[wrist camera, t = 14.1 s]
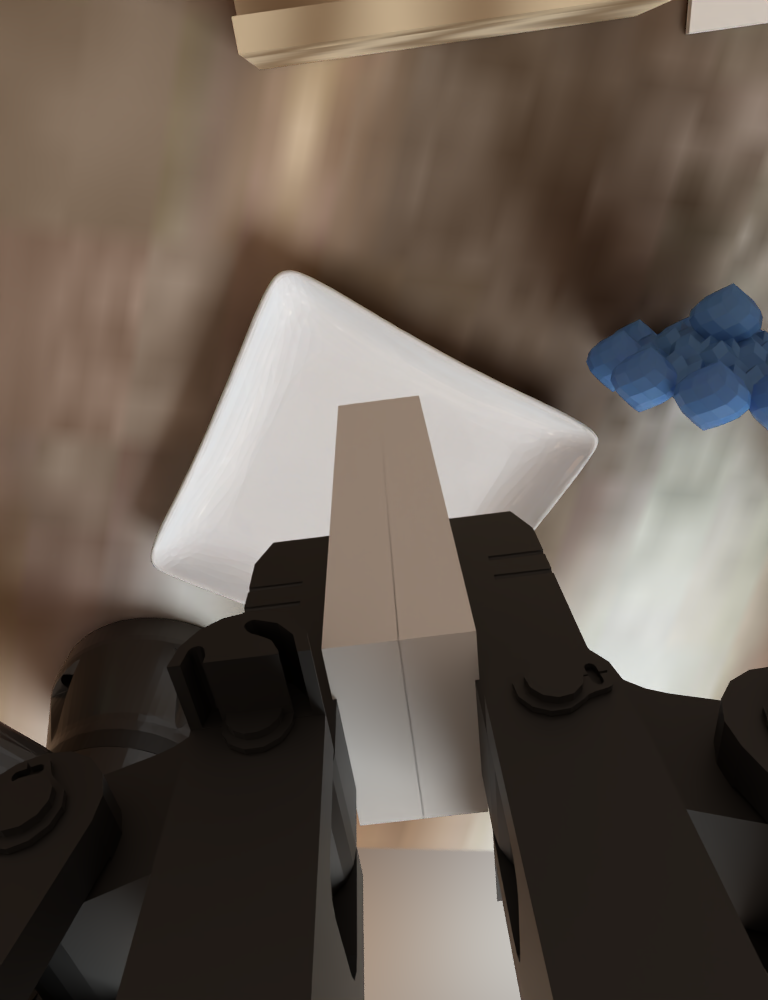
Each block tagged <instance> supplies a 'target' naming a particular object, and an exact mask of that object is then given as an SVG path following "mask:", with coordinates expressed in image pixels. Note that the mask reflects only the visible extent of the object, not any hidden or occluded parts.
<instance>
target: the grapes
mask: <svg viewBox="0 0 768 1000" xmlns="http://www.w3.org/2000/svg"><path fill="white" fill-rule="evenodd" d="M762 319H763V317H762V314H761V311H760V309H759V308H758V306H757V305H756V303H755V302H754V301H753V300H752V299H751V298H750V297H749V296H748V295H746V294H745V293H744V292H743V291H742V290H741V289H739V288H738V287H737V286H736V285H735V284H734V283H733V284H731V285H729V286H727V287H725V288H722V289H720V290H718V291H716V292H714V293H712V294H710V295H708V296H706V297H705V298H704V299H703V300H702V301H700V302H699V303H698V304H697V305H696V306H695V307H694V308H693V309H692V310H691V312H690V316H689V317H688V318H685V319H683V320H681V321H679V322H677V323H675V324H672V325H670V326H668V327H666V328H665V329H664V330H663V331H662V332H661V333H659V334H656V333H655V332H654V331H653V330H652V329H651V328H650V327H648V326H647V325H646V324H645V323H644V322H642V321H641V320H640V319H639V320H637V321H635V322H633V323H631V324H629V325H627V326H625V327H623V328H621V329H619V330H617V331H616V332H615V333H614V334H613V335H612V336H610V337H608V338H606V339H604V340H602V341H600V342H599V343H598V344H597V345H596V346H595V347H593V348H592V349H591V351H590V352H589V354H588V357H587V361H586V362H587V365H588V367H589V369H590V371H591V372H592V374H593V375H594V376H595V377H596V378H597V379H598V380H599V381H600V382H601V383H602V384H603V385H605V386H606V387H607V388H609V389H610V390H611V391H612V392H613V391H616V392H617V393H618V394H619V396H620V397H622V398H623V399H624V400H625V401H626V402H627V403H628V404H629V405H630V406H631V407H633V408H634V409H635V410H637V411H638V412H641V411H644V410H647V409H650V408H652V407H655V406H657V405H659V404H662V403H664V402H665V401H667V400H668V399H669V398H671V397H673V398H674V399H675V401H676V403H677V404H678V406H679V408H680V410H681V411H682V413H683V414H685V415H686V416H687V417H688V418H689V419H690V420H691V421H692V422H693V423H694V424H696V425H697V426H698V427H699V428H701V429H702V430H707V429H711V428H714V427H718V426H720V425H723V424H725V423H728V422H731V421H733V420H735V419H737V418H739V417H740V416H741V415H743V414H744V413H745V412H746V411H747V410H748V409H749V410H750V412H751V414H752V416H753V417H754V418H755V419H756V420H757V421H758V422H759V423H760V424H761V425H763V426H764V427H765V428H766V429H767V430H768V333H767V332H766V331H765V330H764V331H762V330H761V329H760V328H761V325H762Z"/></svg>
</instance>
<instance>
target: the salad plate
mask: <svg viewBox="0 0 768 1000" xmlns="http://www.w3.org/2000/svg"><path fill="white" fill-rule="evenodd" d="M418 395H419V398H420V402H421V406H422V411H423V415H424V419H425V423H426V427H427V431H428V435H429V439H430V443H431V448H432V452H433V456H434V460H435V464H436V468H437V472H438V476H439V480H440V485H441V489H442V493H443V497H444V501H445V505H446V509H447V513H448V517H449V518H458V517H466V516H474V515H482V514H490V513H498V512H506V511H511V512H512V513H514V514H515V515H516V516H518V517H519V518H520V519H522V520H523V521H524V522H526V523H527V524H528V525H530V526H531V527H533V529H534V530H535V529H536V527H537V526H538V525H539V524H540V523H541V521H542V520H543V519H544V517H545V516H546V515H547V514H548V512H549V511H550V510H551V509H552V507H553V506H554V505H555V504H556V502H557V501H558V500H559V498H560V497H561V496H562V495H563V493H564V492H565V491H566V489H567V488H568V487H569V486H570V484H571V483H572V482H573V481H574V479H575V478H576V476H577V475H578V474H579V472H580V471H581V470H582V468H583V467H584V465H585V464H586V463H587V461H588V460H589V458H590V457H591V456H592V454H593V452H594V451H595V449H596V447H597V444H598V437H597V436H596V434H595V433H594V432H593V430H591V429H590V428H589V427H587V426H586V425H585V424H583V423H581V422H580V421H578V420H576V419H574V418H573V417H571V416H569V415H567V414H565V413H563V412H562V411H560V410H558V409H556V408H554V407H551V406H549V405H547V404H545V403H543V402H541V401H539V400H537V399H535V398H533V397H530V396H528V395H526V394H524V393H522V392H520V391H518V390H516V389H514V388H511V387H509V386H507V385H505V384H503V383H501V382H499V381H497V380H495V379H493V378H491V377H489V376H487V375H485V374H483V373H481V372H479V371H477V370H475V369H473V368H471V367H469V366H467V365H465V364H464V363H462V362H460V361H458V360H456V359H454V358H452V357H450V356H449V355H447V354H445V353H443V352H441V351H439V350H438V349H436V348H434V347H432V346H430V345H429V344H427V343H425V342H423V341H421V340H420V339H418V338H416V337H414V336H412V335H411V334H409V333H407V332H405V331H403V330H402V329H400V328H398V327H397V326H395V325H394V324H392V323H390V322H388V321H387V320H385V319H383V318H381V317H380V316H378V315H377V314H375V313H373V312H372V311H370V310H368V309H367V308H365V307H363V306H361V305H360V304H358V303H356V302H355V301H353V300H351V299H350V298H348V297H346V296H345V295H343V294H341V293H340V292H338V291H336V290H334V289H333V288H331V287H329V286H327V285H325V284H323V283H322V282H320V281H318V280H316V279H314V278H312V277H310V276H308V275H306V274H303V273H301V272H298V271H293V270H285V271H282V272H280V273H278V274H277V275H276V276H275V277H274V278H273V279H272V281H271V282H270V283H269V285H268V287H267V289H266V291H265V292H264V294H263V296H262V298H261V301H260V303H259V305H258V307H257V310H256V312H255V314H254V316H253V319H252V321H251V324H250V326H249V329H248V331H247V334H246V336H245V339H244V341H243V344H242V346H241V349H240V351H239V354H238V356H237V358H236V361H235V363H234V366H233V368H232V371H231V373H230V376H229V378H228V381H227V383H226V385H225V388H224V390H223V392H222V395H221V397H220V400H219V402H218V404H217V407H216V409H215V411H214V414H213V416H212V419H211V421H210V423H209V426H208V428H207V431H206V433H205V435H204V437H203V439H202V442H201V444H200V446H199V448H198V450H197V453H196V455H195V457H194V459H193V461H192V463H191V466H190V468H189V470H188V472H187V474H186V476H185V478H184V480H183V482H182V484H181V486H180V488H179V490H178V492H177V494H176V496H175V498H174V500H173V502H172V504H171V506H170V508H169V510H168V512H167V514H166V516H165V518H164V520H163V522H162V524H161V526H160V528H159V531H158V533H157V536H156V538H155V541H154V544H153V547H152V551H151V562H152V564H153V565H154V567H155V568H156V569H158V570H160V571H162V572H163V573H165V574H168V575H170V576H172V577H174V578H177V579H179V580H182V581H185V582H187V583H190V584H192V585H194V586H197V587H199V588H202V589H205V590H207V591H210V592H213V593H215V594H218V595H221V596H223V597H226V598H229V599H231V600H234V601H236V602H239V603H242V604H244V605H245V602H246V598H247V594H248V592H249V586H250V582H251V577H252V573H253V569H254V565H255V563H256V562H257V561H258V560H259V559H260V557H261V556H262V555H263V554H264V553H265V552H266V550H267V549H268V548H269V547H270V546H271V545H272V543H274V542H282V541H290V540H298V539H306V538H314V537H323V536H329V532H330V517H331V503H332V489H333V474H334V460H335V445H336V431H337V416H338V406H340V405H347V404H355V403H363V402H371V401H379V400H386V399H394V398H402V397H410V396H418Z"/></svg>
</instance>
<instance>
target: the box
mask: <svg viewBox="0 0 768 1000" xmlns="http://www.w3.org/2000/svg"><path fill="white" fill-rule="evenodd" d="M669 1H671V0H234V4H235V9H236V15H237V16H232V22H233V27H234V33H235V38H236V43H237V48H238V54H239V55H241V56H242V57H243V58H245V59H246V60H248V61H249V62H250V63H252V64H253V65H254V66H256V67H257V68H259V69H260V70H262V69H269V68H276V67H283V66H290V65H297V64H305V63H312V62H319V61H326V60H333V59H340V58H347V57H354V56H361V55H368V54H375V53H382V52H389V51H396V50H403V49H410V48H417V47H424V46H431V45H438V44H445V43H452V42H459V41H466V40H473V39H480V38H487V37H494V36H501V35H508V34H516V33H523V32H530V31H537V30H544V29H551V28H558V27H565V26H572V25H579V24H586V23H593V22H600V21H607V20H614V19H621V18H628V17H635V16H637V15H639V14H642V13H644V12H646V11H648V10H651V9H653V8H655V7H657V6H660V5H662V4H664V3H666V2H669Z"/></svg>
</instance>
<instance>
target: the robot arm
mask: <svg viewBox="0 0 768 1000" xmlns="http://www.w3.org/2000/svg"><path fill="white" fill-rule="evenodd" d="M244 609H245V613H243V614H239V615H235V616H231V617H227V618H223V619H221V620H219V621H217V622H215V623H213V624H211V625H209V626H207V627H205V628H203V629H202V628H200V627H197V626H194V625H191V624H187V623H184V622H179V621H174V620H168V619H158V618H141V619H131V620H125V621H120V622H116V623H113V624H110V625H107V626H104V627H102V628H100V629H98V630H96V631H94V632H92V633H91V634H89V635H88V636H86V637H85V638H84V639H82V640H81V641H80V642H79V643H78V644H77V645H76V646H75V647H74V649H73V650H72V651H71V653H70V654H69V656H68V658H67V660H66V661H65V663H64V665H63V667H62V669H61V670H60V672H59V674H58V676H57V678H56V680H55V683H54V687H53V690H52V695H51V704H50V715H49V725H48V735H47V745H46V748H45V747H44V746H42V745H40V744H38V743H37V742H35V741H33V740H31V739H30V738H28V737H26V736H25V735H23V734H21V733H19V732H18V731H16V730H14V729H12V728H11V727H9V726H7V725H6V724H4V723H2V722H0V1000H364V934H363V874H362V869H361V864H360V860H359V855H358V851H357V847H356V808H357V813H358V817H359V822H360V826H361V825H370V824H379V823H388V822H397V821H406V820H415V819H424V818H433V817H442V816H451V815H461V814H470V813H479V812H488V808H489V813H490V818H491V823H492V828H493V840H494V855H495V871H496V887H497V901H503V906H504V911H505V917H506V922H507V928H508V933H509V937H510V943H511V949H512V954H513V959H514V965H515V970H516V975H517V981H518V986H519V991H520V997H521V1000H768V667H766V668H759V669H752V670H749V671H747V672H745V673H743V674H742V675H740V676H738V677H737V678H735V679H733V680H731V681H730V683H729V685H728V687H727V689H726V691H725V693H724V694H723V696H722V698H721V701H720V700H713V699H705V698H698V697H691V696H683V695H676V694H668V693H664V692H659V691H654V690H650V689H645V688H643V687H640V686H638V685H635V684H633V683H630V682H627V681H625V680H623V679H622V678H621V677H620V675H619V674H618V673H617V672H616V670H615V669H614V668H613V666H612V665H611V664H610V663H609V662H608V661H607V660H605V659H604V658H602V657H600V656H599V655H597V654H596V653H594V652H592V651H591V650H589V649H588V647H587V646H586V644H585V641H584V639H583V637H582V635H581V633H580V630H579V628H578V626H577V624H576V622H575V619H574V617H573V615H572V613H571V611H570V608H569V606H568V604H567V602H566V600H565V597H564V595H563V593H562V591H561V589H560V586H559V584H558V582H557V580H556V578H555V575H554V573H552V571H551V567H550V564H549V562H548V560H547V558H546V556H545V554H543V549H542V547H541V545H540V542H539V540H538V538H537V536H536V534H535V531H534V529H533V527H531V526H530V525H528V524H527V523H526V522H524V521H523V520H522V519H520V518H519V517H518V516H516V515H515V514H514V513H512V512H511V511H506V512H498V513H490V514H482V515H474V516H466V517H458V518H449V517H448V513H447V509H446V505H445V501H444V497H443V493H442V489H441V485H440V480H439V476H438V472H437V468H436V464H435V460H434V456H433V452H432V448H431V443H430V439H429V435H428V431H427V427H426V423H425V419H424V415H423V411H422V406H421V402H420V398H419V395H418V396H410V397H402V398H394V399H386V400H379V401H371V402H363V403H355V404H347V405H340V406H338V416H337V431H336V445H335V460H334V474H333V489H332V503H331V517H330V532H329V536H323V537H314V538H306V539H298V540H290V541H282V542H274V543H272V545H271V546H270V547H269V548H268V549H267V550H266V552H265V553H264V554H263V555H262V556H261V557H260V559H259V560H258V561H257V562H256V563H255V565H254V569H253V573H252V577H251V582H250V586H249V592H248V594H247V598H246V602H245V607H244Z"/></svg>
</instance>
